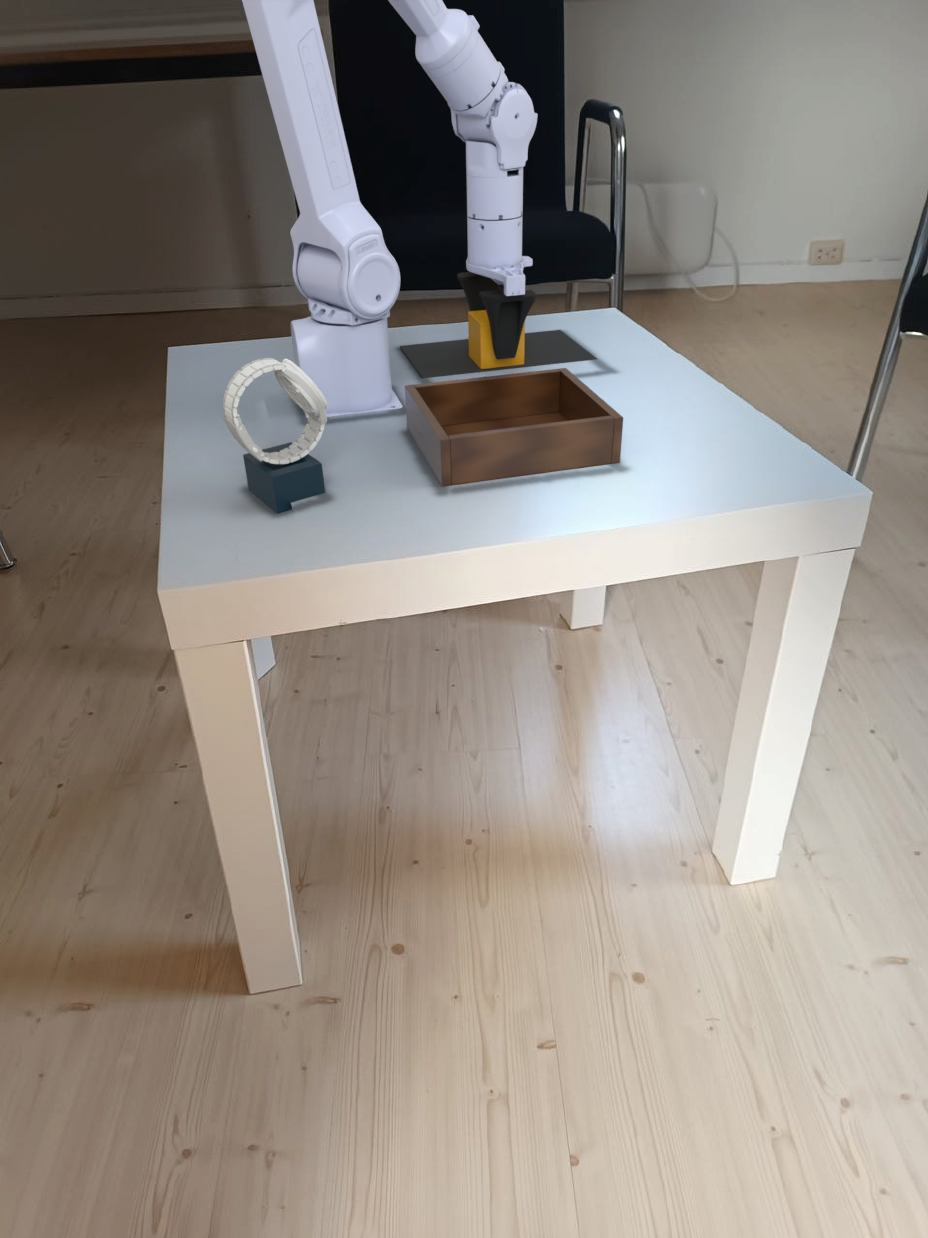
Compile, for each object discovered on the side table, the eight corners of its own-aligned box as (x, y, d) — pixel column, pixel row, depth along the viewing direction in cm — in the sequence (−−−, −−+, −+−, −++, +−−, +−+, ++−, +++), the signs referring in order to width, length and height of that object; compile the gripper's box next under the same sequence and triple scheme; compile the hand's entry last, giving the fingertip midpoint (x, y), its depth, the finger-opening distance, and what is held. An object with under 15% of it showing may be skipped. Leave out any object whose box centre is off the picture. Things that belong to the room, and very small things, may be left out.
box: (442, 493, 75) (440, 439, 73) (407, 433, 86) (404, 385, 84) (619, 468, 79) (623, 417, 76) (563, 414, 90) (565, 367, 87)
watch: (347, 492, 76) (333, 360, 70) (256, 519, 72) (234, 382, 66) (315, 470, 80) (300, 343, 74) (228, 494, 76) (205, 362, 70)
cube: (480, 369, 101) (480, 323, 98) (468, 356, 105) (467, 311, 102) (524, 364, 102) (525, 318, 99) (510, 351, 106) (510, 307, 103)
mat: (431, 392, 96) (431, 389, 95) (400, 348, 109) (399, 345, 108) (611, 371, 100) (611, 369, 100) (560, 331, 113) (560, 329, 113)
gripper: (555, 225, 90) (551, 363, 97) (510, 201, 101) (509, 326, 109) (486, 230, 88) (487, 370, 96) (448, 206, 100) (452, 332, 107)
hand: (495, 347), depth 102 cm, fingers open, 7 cm apart
